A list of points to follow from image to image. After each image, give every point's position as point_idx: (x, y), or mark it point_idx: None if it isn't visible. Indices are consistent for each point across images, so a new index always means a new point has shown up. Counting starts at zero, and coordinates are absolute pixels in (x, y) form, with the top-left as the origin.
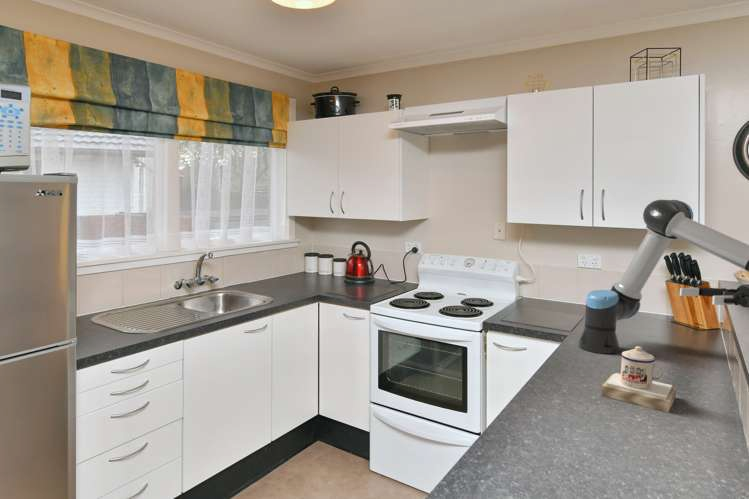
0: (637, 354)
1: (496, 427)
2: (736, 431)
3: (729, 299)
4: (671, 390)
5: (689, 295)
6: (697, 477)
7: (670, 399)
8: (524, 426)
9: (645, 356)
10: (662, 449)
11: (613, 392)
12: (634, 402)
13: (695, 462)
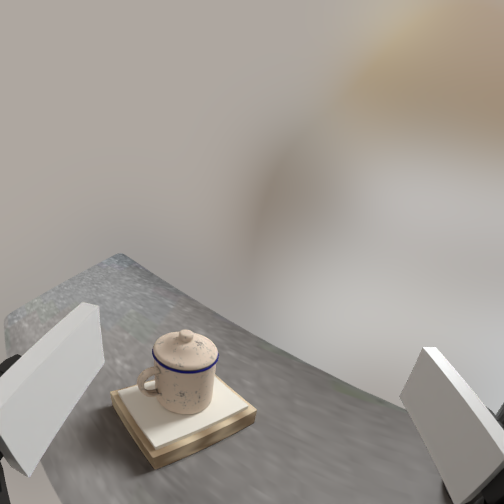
0: (175, 334)
1: (166, 283)
2: None
3: (3, 365)
4: (144, 436)
5: (427, 439)
6: (31, 314)
7: (115, 401)
8: (159, 292)
9: (163, 341)
10: None
11: None
12: None
13: (37, 329)
